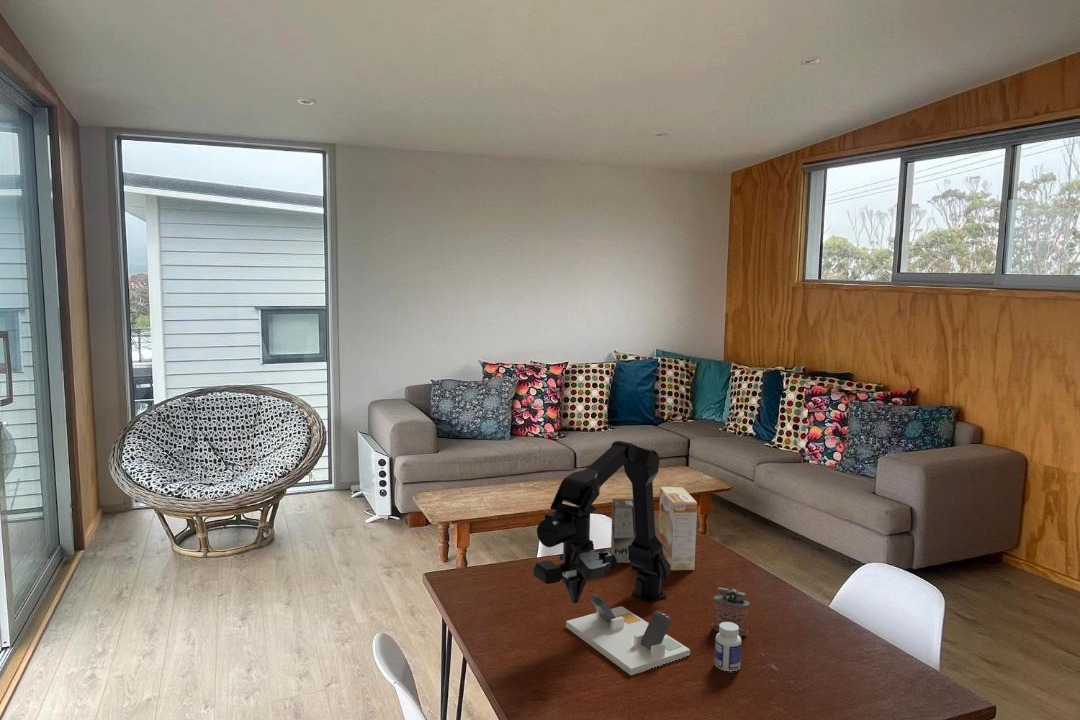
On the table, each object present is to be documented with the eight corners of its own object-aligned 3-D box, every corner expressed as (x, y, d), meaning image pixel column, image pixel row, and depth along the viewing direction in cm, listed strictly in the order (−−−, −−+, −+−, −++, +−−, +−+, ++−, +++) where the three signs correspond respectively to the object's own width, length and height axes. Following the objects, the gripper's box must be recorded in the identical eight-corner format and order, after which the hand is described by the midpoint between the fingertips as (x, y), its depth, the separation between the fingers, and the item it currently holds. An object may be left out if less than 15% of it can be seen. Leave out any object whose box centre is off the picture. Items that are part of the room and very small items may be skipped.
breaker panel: (621, 612, 182) (622, 576, 181) (689, 656, 162) (691, 616, 161) (566, 627, 174) (567, 589, 173) (630, 675, 154) (632, 633, 153)
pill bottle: (741, 662, 160) (743, 622, 159) (739, 675, 155) (741, 633, 154) (715, 658, 161) (717, 618, 160) (712, 670, 156) (714, 629, 155)
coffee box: (635, 563, 213) (637, 508, 211) (612, 563, 213) (614, 507, 211) (632, 551, 222) (634, 498, 220) (610, 551, 222) (612, 497, 220)
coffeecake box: (656, 550, 223) (659, 486, 221) (680, 550, 224) (683, 486, 221) (669, 570, 208) (672, 502, 206) (695, 570, 209) (698, 501, 207)
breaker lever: (608, 614, 175) (592, 591, 172) (619, 622, 171) (604, 598, 168) (602, 620, 175) (587, 597, 171) (614, 628, 171) (598, 604, 168)
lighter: (749, 632, 173) (751, 590, 172) (746, 638, 170) (749, 596, 169) (714, 624, 177) (716, 583, 176) (710, 630, 174) (713, 589, 173)
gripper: (560, 554, 153) (559, 627, 155) (633, 538, 163) (630, 607, 165) (532, 537, 163) (531, 606, 165) (602, 523, 172) (600, 589, 174)
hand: (574, 602), depth 167 cm, fingers closed
